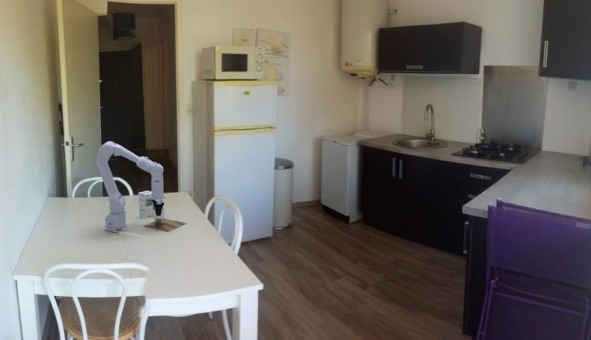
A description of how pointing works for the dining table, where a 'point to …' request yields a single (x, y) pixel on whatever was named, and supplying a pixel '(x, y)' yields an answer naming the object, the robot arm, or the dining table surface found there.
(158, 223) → the dark grey block
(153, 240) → the dining table surface
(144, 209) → the syrup box
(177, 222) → the board
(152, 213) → the cube with square recess
